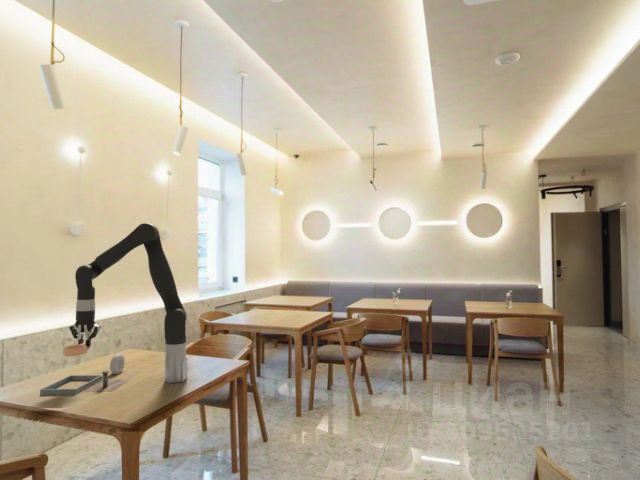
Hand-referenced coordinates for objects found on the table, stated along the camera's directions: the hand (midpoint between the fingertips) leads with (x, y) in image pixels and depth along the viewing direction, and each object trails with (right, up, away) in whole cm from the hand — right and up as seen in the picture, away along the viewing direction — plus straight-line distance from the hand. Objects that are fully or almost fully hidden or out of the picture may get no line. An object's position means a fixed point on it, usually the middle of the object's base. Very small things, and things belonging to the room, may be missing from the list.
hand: (84, 347), depth 184 cm
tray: (-2, -17, -5) cm, 18 cm away
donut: (+7, -18, +16) cm, 25 cm away
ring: (0, -1, -5) cm, 5 cm away
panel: (+13, -17, -4) cm, 21 cm away
